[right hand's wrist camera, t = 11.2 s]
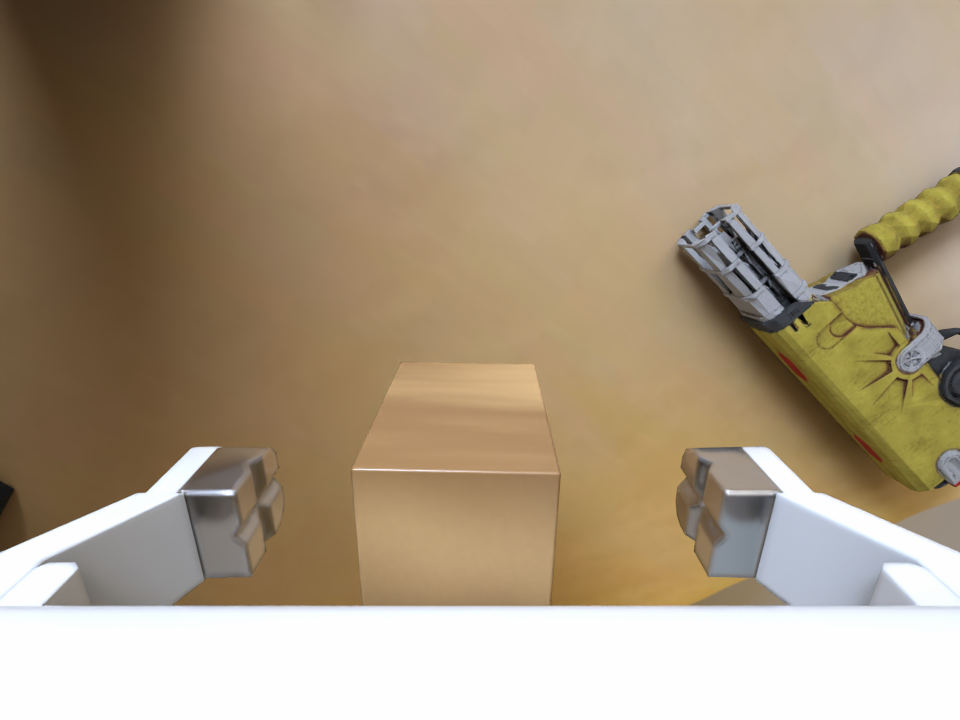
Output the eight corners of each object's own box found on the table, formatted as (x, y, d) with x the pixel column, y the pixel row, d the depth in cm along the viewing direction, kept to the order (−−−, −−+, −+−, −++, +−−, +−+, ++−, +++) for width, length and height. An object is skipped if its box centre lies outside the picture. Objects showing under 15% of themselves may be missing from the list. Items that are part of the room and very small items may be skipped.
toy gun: (919, 35, 27) (698, 248, 29) (1149, 349, 31) (937, 511, 34) (855, 63, 31) (668, 246, 34) (1063, 334, 35) (882, 477, 38)
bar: (400, 361, 22) (349, 468, 14) (535, 363, 22) (561, 472, 14) (417, 766, 31) (392, 975, 23) (513, 768, 31) (522, 978, 23)
